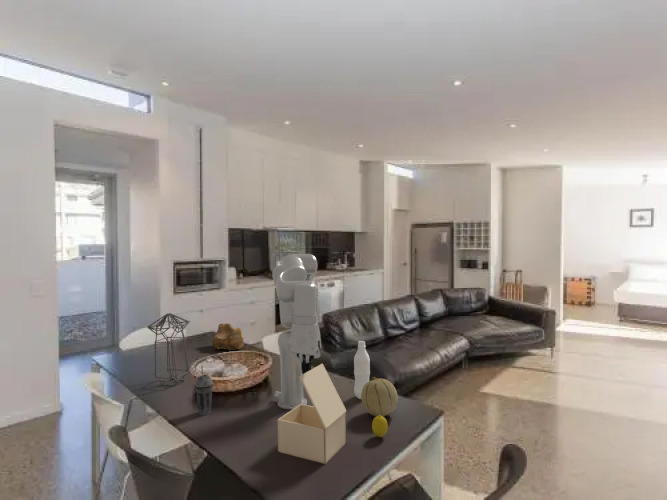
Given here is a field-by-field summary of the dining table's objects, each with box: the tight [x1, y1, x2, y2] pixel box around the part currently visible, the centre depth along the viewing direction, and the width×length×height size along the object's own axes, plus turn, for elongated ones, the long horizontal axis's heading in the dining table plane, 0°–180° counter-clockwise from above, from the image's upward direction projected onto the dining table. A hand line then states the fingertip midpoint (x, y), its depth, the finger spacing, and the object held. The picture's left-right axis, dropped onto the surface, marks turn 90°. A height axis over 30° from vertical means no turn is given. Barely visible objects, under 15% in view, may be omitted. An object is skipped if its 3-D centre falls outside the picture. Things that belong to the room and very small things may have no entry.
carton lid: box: [299, 363, 347, 429], centre depth 147 cm, size 18×15×1 cm
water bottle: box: [353, 340, 371, 400], centre depth 196 cm, size 7×7×25 cm
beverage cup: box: [194, 365, 214, 416], centre depth 181 cm, size 7×7×20 cm
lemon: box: [371, 415, 389, 438], centre depth 157 cm, size 6×6×8 cm
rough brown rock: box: [211, 322, 245, 351], centre depth 284 cm, size 23×17×15 cm
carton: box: [276, 404, 347, 465], centre depth 150 cm, size 18×15×11 cm
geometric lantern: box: [147, 312, 191, 385], centre depth 219 cm, size 16×16×35 cm
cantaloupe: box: [360, 376, 399, 417], centre depth 176 cm, size 15×15×15 cm
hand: (306, 373), depth 150 cm, fingers closed
